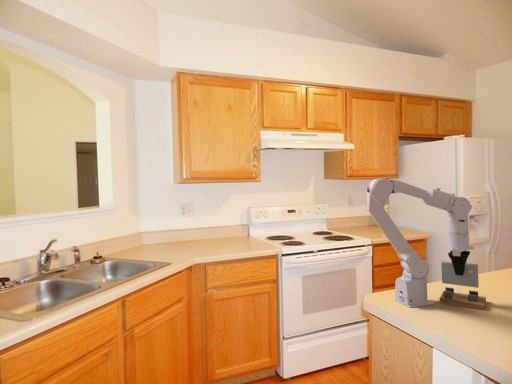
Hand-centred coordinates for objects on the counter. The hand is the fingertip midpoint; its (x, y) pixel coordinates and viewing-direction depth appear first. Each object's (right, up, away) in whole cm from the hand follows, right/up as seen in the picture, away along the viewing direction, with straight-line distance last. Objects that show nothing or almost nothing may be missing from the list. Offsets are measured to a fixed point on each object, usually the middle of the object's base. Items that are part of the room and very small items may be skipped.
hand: (459, 273), depth 104 cm
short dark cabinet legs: (0, -8, 0) cm, 8 cm away
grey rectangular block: (0, -4, 0) cm, 4 cm away
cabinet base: (0, -9, 0) cm, 9 cm away
